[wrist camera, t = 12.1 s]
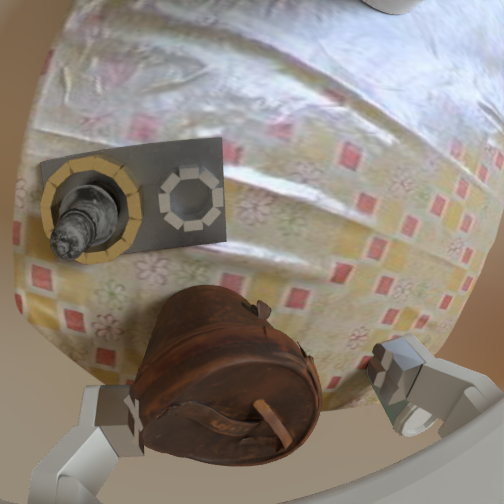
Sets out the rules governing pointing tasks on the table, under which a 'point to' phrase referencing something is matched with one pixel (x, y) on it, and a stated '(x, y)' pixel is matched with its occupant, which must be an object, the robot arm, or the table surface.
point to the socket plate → (146, 194)
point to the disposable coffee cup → (406, 415)
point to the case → (225, 382)
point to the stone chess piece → (85, 219)
